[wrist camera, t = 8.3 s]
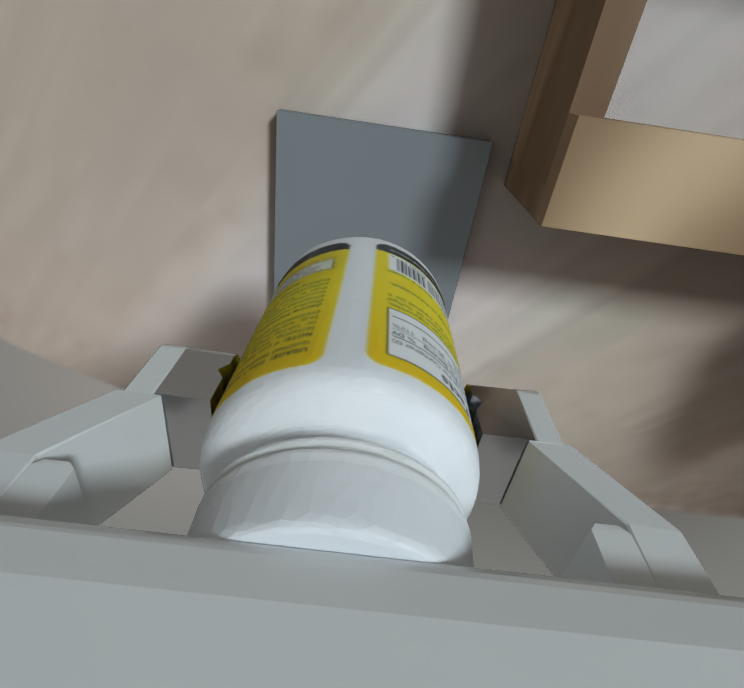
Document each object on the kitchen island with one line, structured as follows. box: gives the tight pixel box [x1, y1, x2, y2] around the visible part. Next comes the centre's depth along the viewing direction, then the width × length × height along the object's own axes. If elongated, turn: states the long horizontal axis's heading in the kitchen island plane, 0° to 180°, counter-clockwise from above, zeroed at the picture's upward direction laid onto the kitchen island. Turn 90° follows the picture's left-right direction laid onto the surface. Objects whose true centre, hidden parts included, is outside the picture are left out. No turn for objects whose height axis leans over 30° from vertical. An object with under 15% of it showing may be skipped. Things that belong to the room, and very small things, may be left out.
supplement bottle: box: [187, 237, 480, 567], centre depth 9 cm, size 5×5×8 cm
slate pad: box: [274, 109, 493, 318], centre depth 19 cm, size 8×8×1 cm
